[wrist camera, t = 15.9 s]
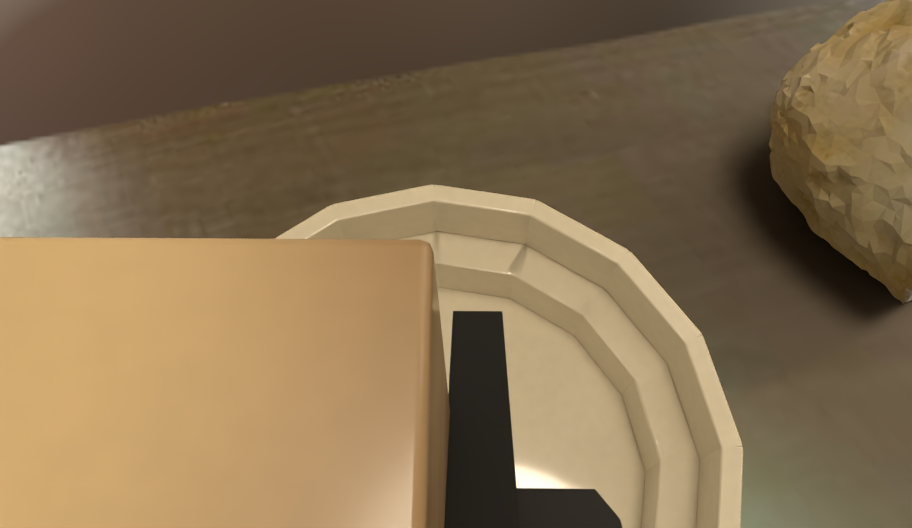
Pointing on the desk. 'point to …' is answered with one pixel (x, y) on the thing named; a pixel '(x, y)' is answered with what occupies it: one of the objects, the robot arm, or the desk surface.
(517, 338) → the bowl
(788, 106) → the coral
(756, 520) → the desk surface
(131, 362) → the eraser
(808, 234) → the desk surface
